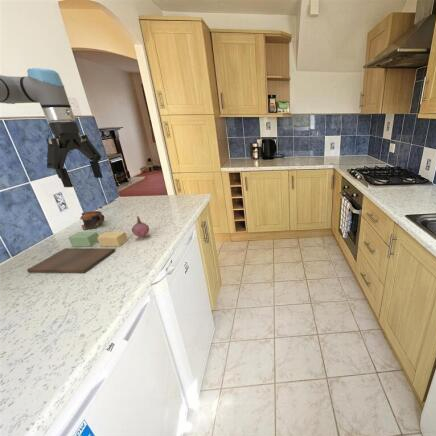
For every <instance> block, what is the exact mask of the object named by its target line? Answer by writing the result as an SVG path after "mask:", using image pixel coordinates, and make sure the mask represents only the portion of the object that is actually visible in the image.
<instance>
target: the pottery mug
mask: <svg viewBox="0 0 436 436" xmlns="http://www.w3.org/2000/svg"><path fill="white" fill-rule="evenodd" d="M79 220H81V221H82V223H83V224H82V225H81V228H82V230H84V231H85V230H92V229H97V228H98V227H97V225H98V226H101V225H103V223H104V222H105V215H104V214H103V212H102V211H99V210H90V211H85V212H82V213H81V216H80V217H79Z"/></svg>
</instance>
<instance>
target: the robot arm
mask: <svg viewBox="0 0 436 436" xmlns="http://www.w3.org/2000/svg"><path fill="white" fill-rule="evenodd" d="M26 72H27V73H26V74H27V76H8V75H2V74H0V104H9V105H15V104H33V103H37V104H39V105H40V107H41V110H42V113H43V115H44V118H45V120H46V121H47V122H48V128H49V130H50V132H51V134H52V135H54V137H47V138H46V139H45V140H46V144H47V151H46V153H47V154H46V168H47V169H52V170H55V173H56V175H57V177H58V178H59V179H60V180H61V182H62V186H63V188H74V185H73V182H72V180H71V177H70V174H69V172H68V169H67V167H66V168H64V166H65V163H66V160H67V157H68V153H69V152H70V151H74V150H78V151H79V152H80V153H81V154H83V155H84V156H85V157H86V158H87V159H89V166H90V168H91V170H92V174H93V176H94V179H102V178H104V177H103V173H102V171H101V166H100V163H99V162H100V161H101V159H102V155H101V154H100V152H99V151H98V150H97V148H96V146H94V145H93V144H92V142H91V141H90V139H89V136H88V135H87V134H80V133H81V131H80V128H79V125H78V123H77V122H76V121H75V120H76V117H75V115H74V111H73V109H72V106H71V103H70V101H69V98H68V94H67V92H66V89H65V85H64V82H63V81H62V78H61V76H60V74H59V73H58V72H57V71H56V70H54V69H50V68H40V67H39V68H38V67H34V68H33V67H32V68H27V70H26Z"/></svg>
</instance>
